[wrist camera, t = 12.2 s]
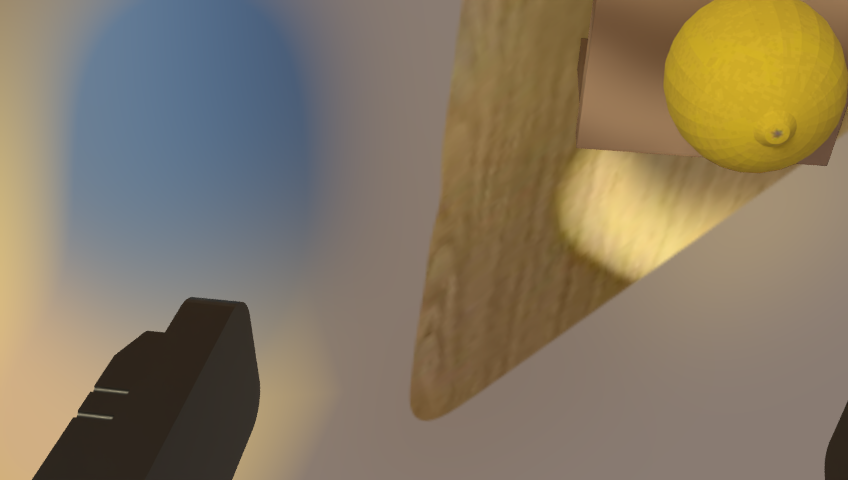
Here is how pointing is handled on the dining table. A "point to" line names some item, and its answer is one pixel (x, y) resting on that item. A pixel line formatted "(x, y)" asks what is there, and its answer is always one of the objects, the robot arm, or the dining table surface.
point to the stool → (652, 75)
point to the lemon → (755, 83)
